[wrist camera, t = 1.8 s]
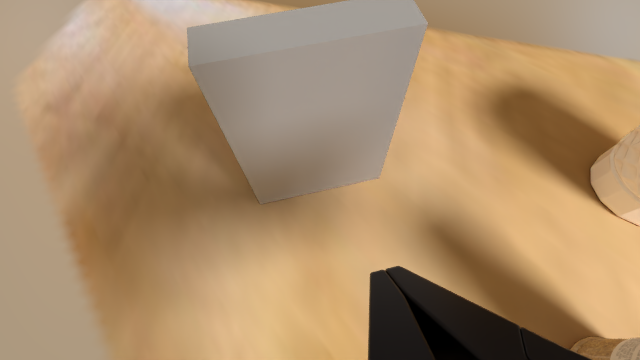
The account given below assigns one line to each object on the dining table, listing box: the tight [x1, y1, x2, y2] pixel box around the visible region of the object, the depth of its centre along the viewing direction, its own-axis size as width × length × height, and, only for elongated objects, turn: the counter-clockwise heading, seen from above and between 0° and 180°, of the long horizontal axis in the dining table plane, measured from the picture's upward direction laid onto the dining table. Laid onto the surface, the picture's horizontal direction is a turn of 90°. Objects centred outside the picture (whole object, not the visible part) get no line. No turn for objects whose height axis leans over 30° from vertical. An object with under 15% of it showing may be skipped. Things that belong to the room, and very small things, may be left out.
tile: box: [187, 0, 428, 204], centre depth 19 cm, size 3×10×14 cm, turn 103°
